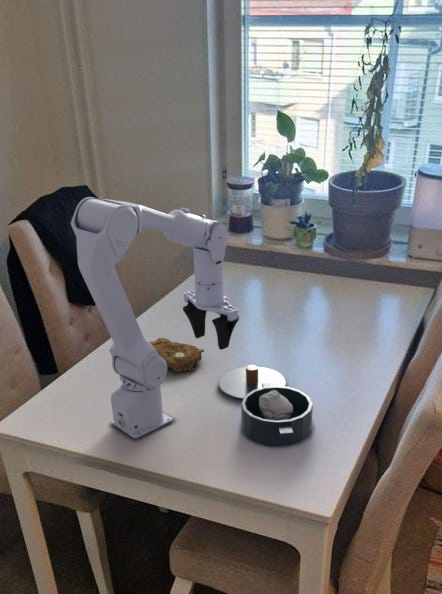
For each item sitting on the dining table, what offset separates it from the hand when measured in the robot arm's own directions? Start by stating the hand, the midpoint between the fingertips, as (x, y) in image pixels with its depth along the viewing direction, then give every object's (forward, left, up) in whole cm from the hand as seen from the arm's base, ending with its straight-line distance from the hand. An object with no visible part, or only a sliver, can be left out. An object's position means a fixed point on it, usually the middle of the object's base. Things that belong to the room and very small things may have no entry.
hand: (211, 342), depth 142 cm
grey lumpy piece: (-3, -22, -10) cm, 24 cm away
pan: (-3, -22, -10) cm, 24 cm away
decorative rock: (0, +15, -10) cm, 18 cm away
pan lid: (+5, -7, -9) cm, 13 cm away
